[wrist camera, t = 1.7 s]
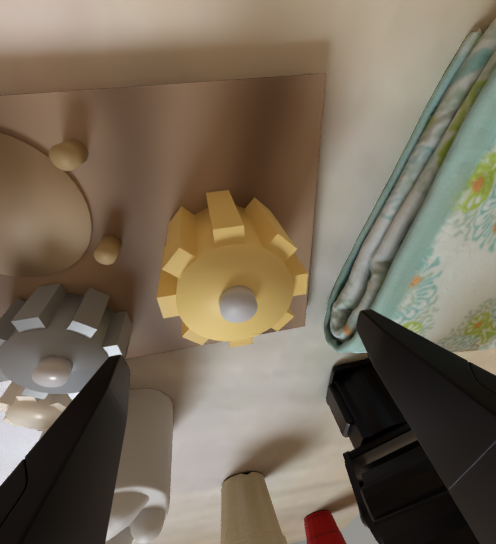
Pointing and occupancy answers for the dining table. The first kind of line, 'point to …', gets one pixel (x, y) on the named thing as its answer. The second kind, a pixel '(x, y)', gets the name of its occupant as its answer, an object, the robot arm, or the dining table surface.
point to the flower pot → (248, 512)
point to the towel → (434, 221)
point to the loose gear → (229, 272)
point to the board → (147, 184)
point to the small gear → (32, 408)
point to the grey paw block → (143, 470)
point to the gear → (59, 340)
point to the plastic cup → (322, 529)
